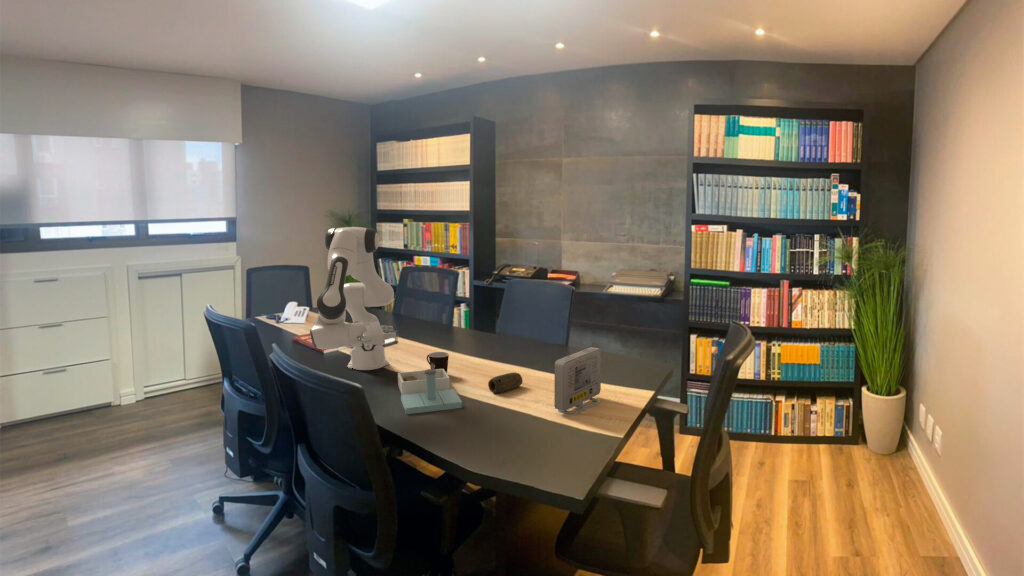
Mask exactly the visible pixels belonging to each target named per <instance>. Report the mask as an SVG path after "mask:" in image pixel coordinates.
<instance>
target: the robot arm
mask: <svg viewBox="0 0 1024 576" xmlns="http://www.w3.org/2000/svg"><path fill="white" fill-rule="evenodd" d="M324 244H325V247H326V249H327V251H328V253H327V254H328V255H327V269H328V275H327V280H326V283H325V287H324V289H323V290H322V292H321V293H320V294H319V295H318V297H317V300H316V307H317V310H318V315H317V317H316V320H315V322H314V324H313V325H312V326H311V327H310V329H309V334H310V335H309V336H310V340H311V344H312V345H313V347H314V348H316V349H319V350H332V349H333V350H334V349H335V350H336V349H339V348H352V349H351V350H350V351H349V354H350V361H349V362H348V364H347V366H346V367H348V368H347V369H352V368H353V370H357V371H372V370H378V369H381V368H383V367H384V366H388V365H390V362H389V361H388V359H386V355H385V347H384V346H383V345H384V344H385V341H386V340H389V339H394V338H397V333H396V332H395V331H394V326H393V325H384V324H383V325H381V323H380V321H379V319H378V317H377V316H376V315H374V314H372V313H371V312H368V311H367V310H366V308H365V307H370V308H371V307H373V308H374V307H383V306H387V305H388V306H389V305H390V304H391V303H392V302H393V300H394V298H395V291H394V288H393V287H392V286H391V284H390V283H388V282H386V281H385V280H384V279H382V277H380V276H379V274H378V272H377V269H376V267H375V262H374V253H375V252H376V251H377V250H378V248H379V245H380V236H379V232H378V231H377V230H376V229H375V228H372V227H361V226H350V227H349V226H348V227H346V226H345V227H331V228H329V229H328V230H327V231H325V235H324ZM348 276H351V278H353V279H354V280H356V281H358V282H347V283H345V282H346V277H348ZM346 311H347V312H348V313H349V315H350V316H351V319H352V322H350V323H346V317H347V312H346ZM384 332H385V333H384ZM387 332H388V333H387Z"/></svg>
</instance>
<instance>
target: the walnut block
mask: <svg viewBox="0 0 1024 576" xmlns="http://www.w3.org/2000/svg"><path fill="white" fill-rule="evenodd" d="M414 380H417V378H415V377H414V376H410V377H404V381H414Z"/></svg>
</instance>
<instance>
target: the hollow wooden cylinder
mask: <svg viewBox="0 0 1024 576" xmlns="http://www.w3.org/2000/svg"><path fill="white" fill-rule="evenodd" d="M487 384H488V385H487V387H488V389H489V390H490V392H491V393H493V394H500V393H503V392H506V391H510V390H513V389H516V388H517V387H520V386H522V384H523V378H522V376H521V374H520V373H519V372H509V373H504V374H500V375H496V376H494V377H492V378H491V379H489V380H488V383H487Z"/></svg>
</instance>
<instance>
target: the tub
mask: <svg viewBox="0 0 1024 576" xmlns="http://www.w3.org/2000/svg"><path fill="white" fill-rule="evenodd" d="M435 370H436V374H435V377H436V378H435V391H443V390H451V385H450V384H451V383H450V381H451V379H450V376H449V374H448V372H447V373H446V372H445V370H444V369H435ZM424 371H425V369H424V370H423V369H422V370H415V371H414V370H412V371H405V372H397V385H398V388H399V391H400V393H401V395H406V394H415V393H424V392H426V374H425V373H424ZM410 376H414V377H415V378H417V380H414V381H404V377H410Z"/></svg>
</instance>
